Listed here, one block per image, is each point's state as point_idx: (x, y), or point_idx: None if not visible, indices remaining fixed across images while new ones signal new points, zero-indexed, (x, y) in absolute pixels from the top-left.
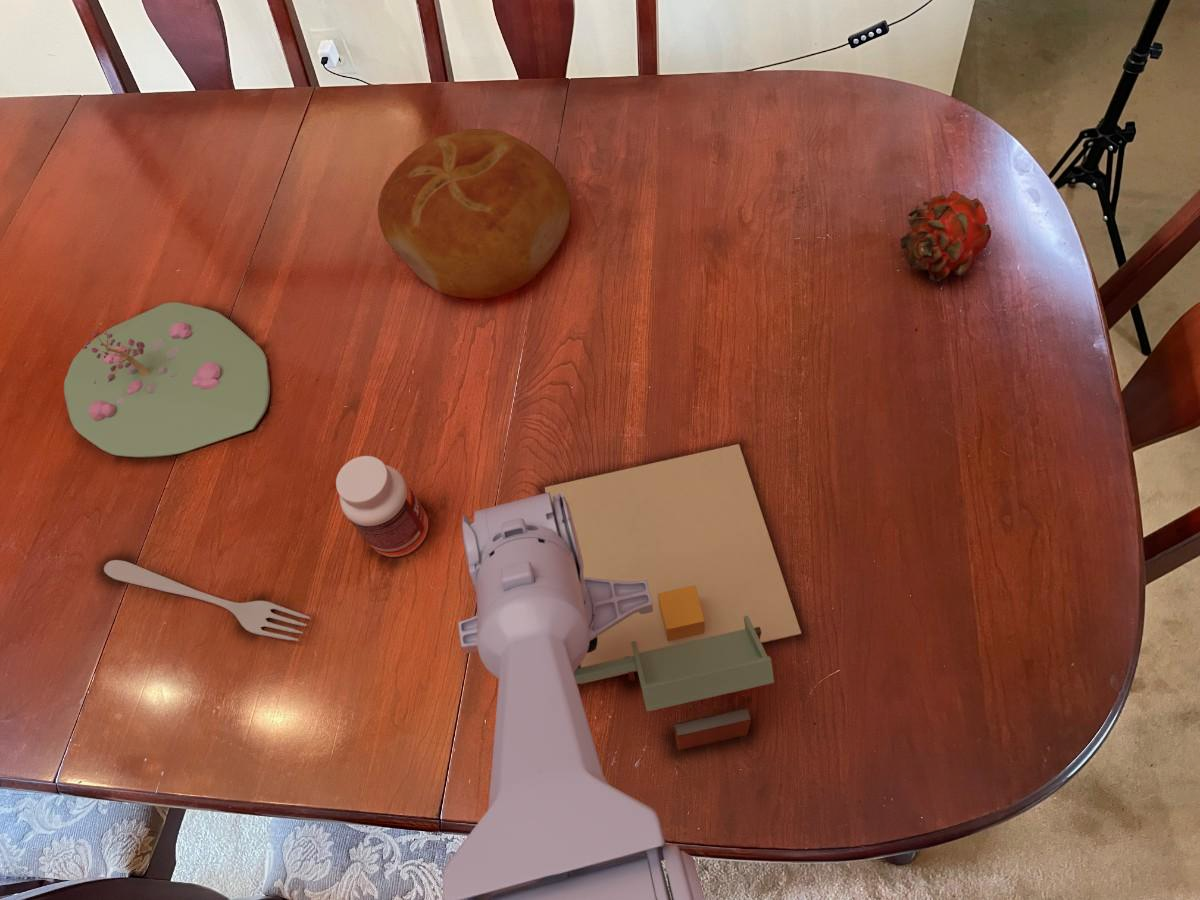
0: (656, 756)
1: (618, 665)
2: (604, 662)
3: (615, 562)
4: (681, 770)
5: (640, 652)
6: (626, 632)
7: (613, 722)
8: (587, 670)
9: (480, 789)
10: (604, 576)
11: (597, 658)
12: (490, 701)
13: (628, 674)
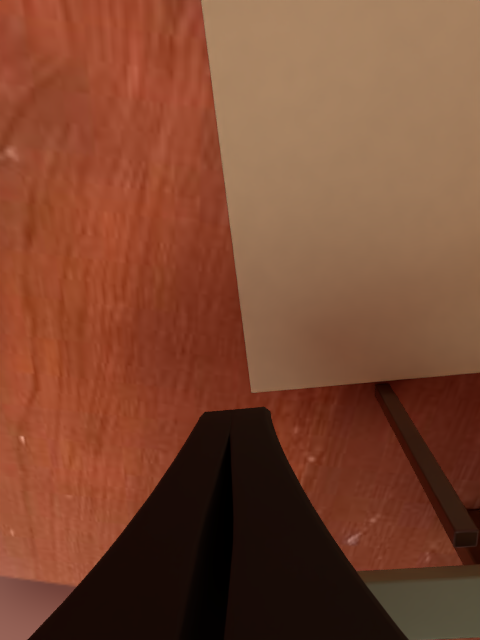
0: (395, 533)
1: (454, 631)
2: (388, 587)
3: (421, 3)
4: (438, 557)
5: (423, 336)
6: (398, 277)
7: (317, 470)
8: None
9: (37, 546)
10: (367, 65)
11: (301, 339)
12: (26, 401)
13: (398, 440)
